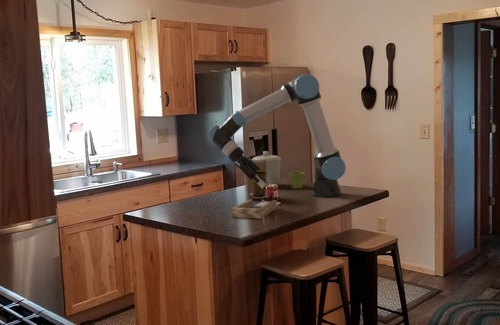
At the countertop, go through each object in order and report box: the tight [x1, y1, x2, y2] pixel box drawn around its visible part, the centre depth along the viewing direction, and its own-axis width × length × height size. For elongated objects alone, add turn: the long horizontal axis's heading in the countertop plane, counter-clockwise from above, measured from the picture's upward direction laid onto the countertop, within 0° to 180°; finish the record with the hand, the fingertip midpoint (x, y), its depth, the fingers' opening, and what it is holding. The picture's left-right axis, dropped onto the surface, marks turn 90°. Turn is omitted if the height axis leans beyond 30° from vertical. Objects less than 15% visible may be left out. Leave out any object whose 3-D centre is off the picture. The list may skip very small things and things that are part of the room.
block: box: [246, 159, 267, 200], centre depth 276 cm, size 10×10×20 cm
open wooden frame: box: [231, 199, 277, 219], centre depth 242 cm, size 14×20×4 cm
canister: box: [250, 150, 282, 185], centre depth 311 cm, size 18×18×21 cm
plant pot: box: [288, 171, 306, 189], centre depth 300 cm, size 9×9×9 cm
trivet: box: [254, 201, 282, 208], centre depth 257 cm, size 10×10×1 cm
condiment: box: [249, 170, 270, 198], centre depth 249 cm, size 7×8×12 cm
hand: (266, 185), depth 248 cm, fingers closed on condiment, 6 cm apart
